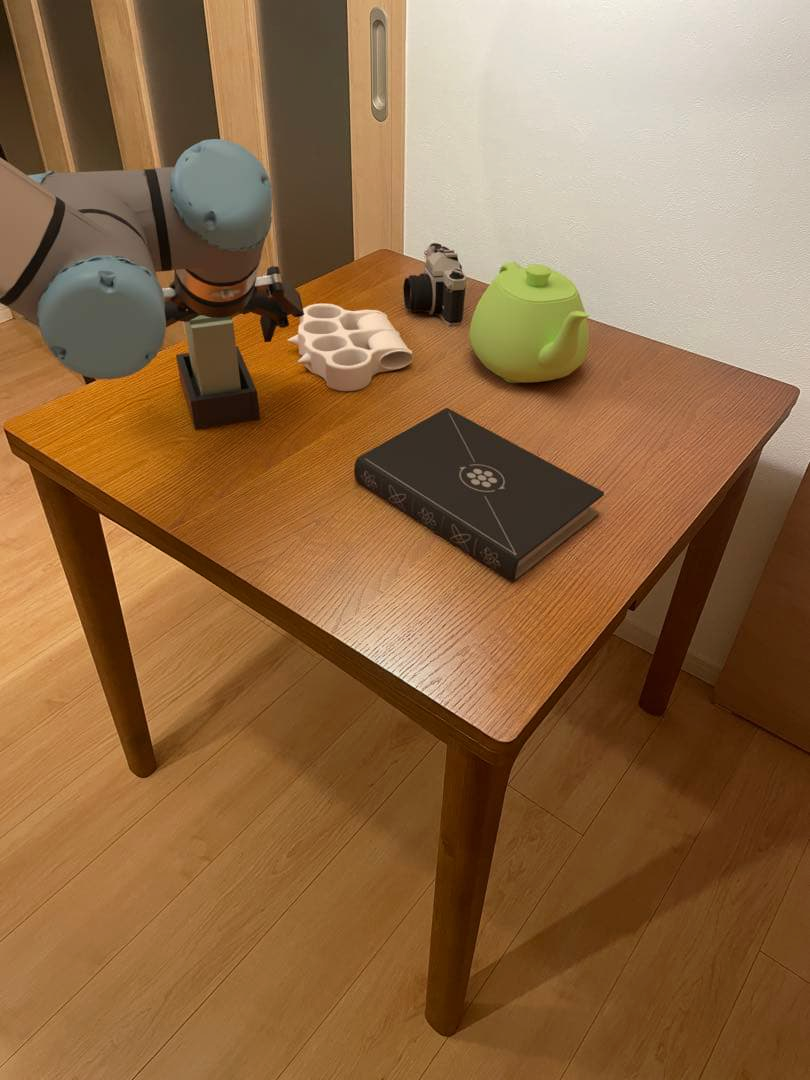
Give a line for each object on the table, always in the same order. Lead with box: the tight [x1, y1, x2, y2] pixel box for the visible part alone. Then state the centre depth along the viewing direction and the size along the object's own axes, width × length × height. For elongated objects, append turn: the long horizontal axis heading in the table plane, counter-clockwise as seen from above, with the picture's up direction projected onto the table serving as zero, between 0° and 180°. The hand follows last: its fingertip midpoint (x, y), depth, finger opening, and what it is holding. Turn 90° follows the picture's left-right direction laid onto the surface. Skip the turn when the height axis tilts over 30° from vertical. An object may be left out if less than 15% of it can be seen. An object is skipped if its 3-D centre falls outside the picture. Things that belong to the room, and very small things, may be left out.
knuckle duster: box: [286, 303, 414, 392], centre depth 105 cm, size 3×18×15 cm
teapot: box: [468, 262, 590, 384], centre depth 101 cm, size 22×15×13 cm
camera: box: [403, 242, 468, 327], centre depth 115 cm, size 13×8×9 cm, turn 17°
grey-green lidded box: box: [183, 309, 241, 396], centre depth 93 cm, size 5×8×12 cm, turn 21°
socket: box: [175, 345, 261, 430], centre depth 96 cm, size 8×11×4 cm
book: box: [353, 407, 605, 583], centre depth 84 cm, size 22×15×3 cm
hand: (208, 338), depth 94 cm, fingers open, 13 cm apart
